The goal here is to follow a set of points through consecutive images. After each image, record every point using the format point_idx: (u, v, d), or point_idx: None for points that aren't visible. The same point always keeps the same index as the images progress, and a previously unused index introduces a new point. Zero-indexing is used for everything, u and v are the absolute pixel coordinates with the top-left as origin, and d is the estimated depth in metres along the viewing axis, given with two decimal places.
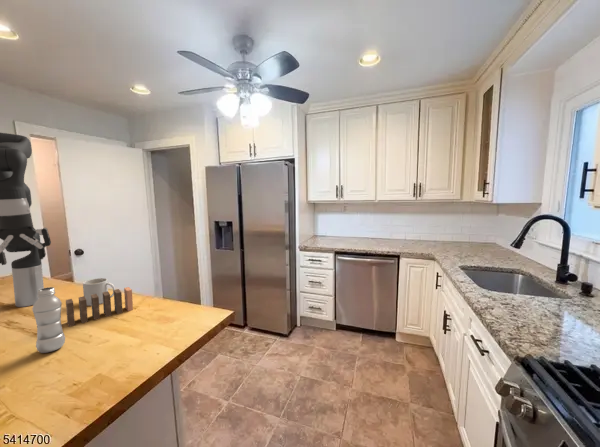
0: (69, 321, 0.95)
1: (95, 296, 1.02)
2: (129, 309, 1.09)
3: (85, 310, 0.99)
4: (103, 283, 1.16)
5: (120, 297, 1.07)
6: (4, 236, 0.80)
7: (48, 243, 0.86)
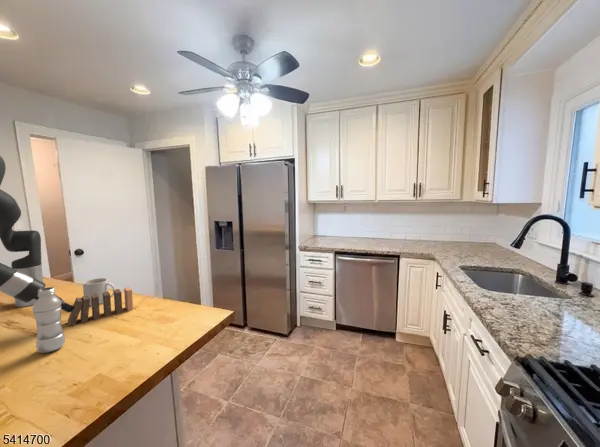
0: (72, 319, 0.96)
1: (95, 296, 1.02)
2: (129, 309, 1.09)
3: (87, 309, 0.99)
4: (103, 283, 1.16)
5: (120, 297, 1.07)
6: None
7: None
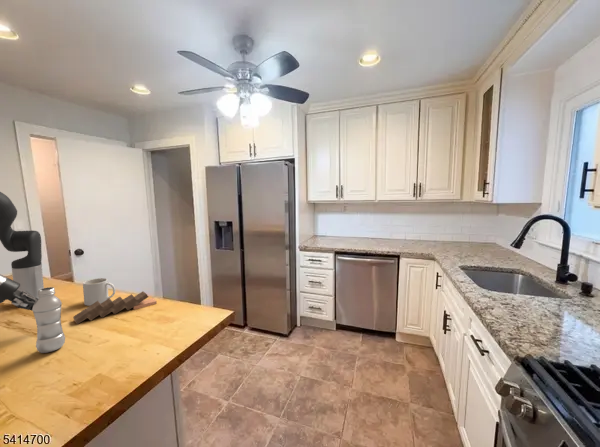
0: (80, 317, 0.98)
1: None
2: (135, 307, 1.11)
3: (102, 311, 1.03)
4: (103, 283, 1.16)
5: (143, 299, 1.13)
6: None
7: (31, 310, 0.88)
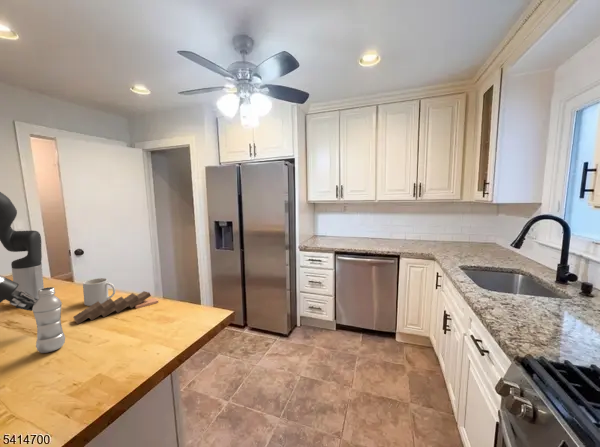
0: (81, 318, 0.98)
1: None
2: (137, 307, 1.12)
3: (104, 311, 1.03)
4: (103, 283, 1.16)
5: (146, 298, 1.16)
6: None
7: None
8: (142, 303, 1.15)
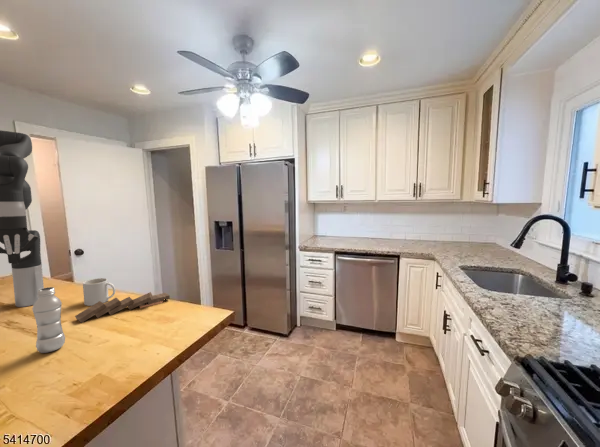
0: (85, 316, 0.99)
1: None
2: (141, 307, 1.13)
3: (110, 309, 1.05)
4: (103, 283, 1.16)
5: None
6: (0, 235, 0.85)
7: (25, 249, 0.90)
8: (146, 303, 1.15)
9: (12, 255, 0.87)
